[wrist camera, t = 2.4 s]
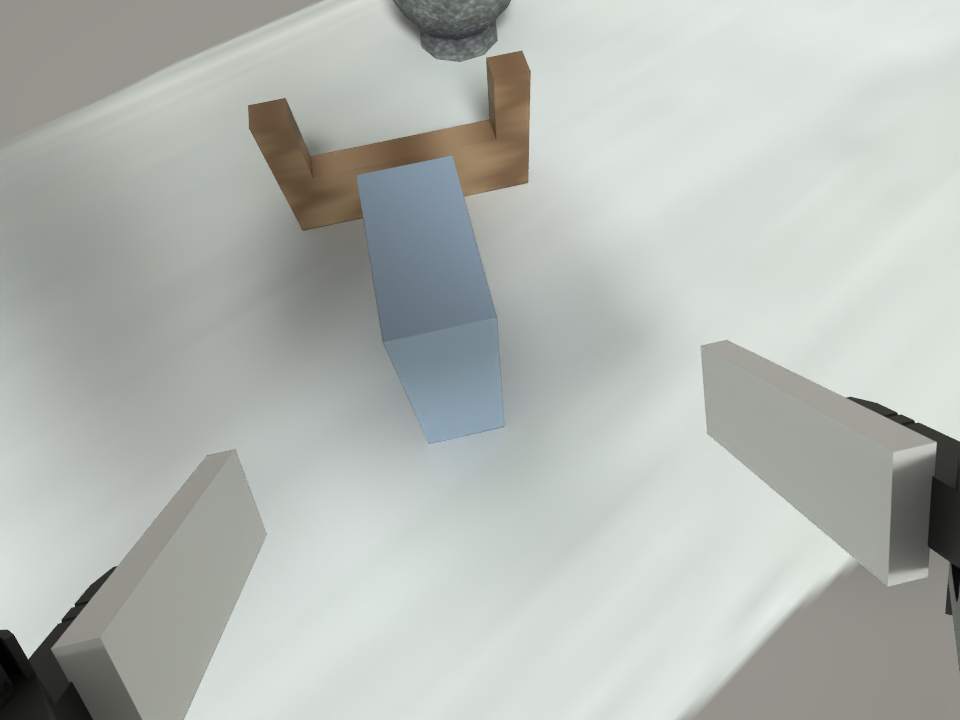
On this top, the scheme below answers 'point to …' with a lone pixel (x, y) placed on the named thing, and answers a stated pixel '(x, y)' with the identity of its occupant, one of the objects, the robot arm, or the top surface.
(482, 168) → the wooden drawer pull
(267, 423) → the top surface
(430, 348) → the slotted block
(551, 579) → the top surface
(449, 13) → the mortar and pestle
